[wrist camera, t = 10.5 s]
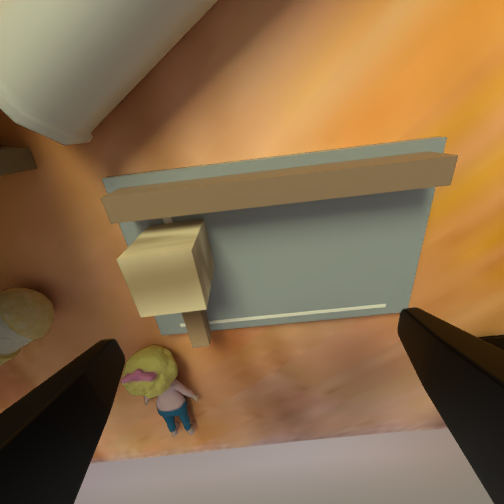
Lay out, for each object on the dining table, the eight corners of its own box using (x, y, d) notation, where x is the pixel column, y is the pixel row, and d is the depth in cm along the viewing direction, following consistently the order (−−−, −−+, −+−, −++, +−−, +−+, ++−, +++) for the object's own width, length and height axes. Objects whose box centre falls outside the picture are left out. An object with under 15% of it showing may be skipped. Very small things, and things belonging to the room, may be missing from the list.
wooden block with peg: (226, 324, 22) (223, 375, 17) (182, 330, 22) (167, 381, 17) (204, 218, 17) (191, 250, 13) (148, 225, 17) (116, 259, 13)
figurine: (210, 412, 31) (181, 331, 23) (205, 455, 27) (169, 375, 20) (164, 416, 31) (121, 336, 24) (152, 459, 27) (97, 380, 20)
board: (401, 306, 22) (425, 333, 19) (164, 329, 23) (152, 358, 20) (437, 136, 16) (481, 139, 13) (108, 176, 17) (78, 187, 14)
